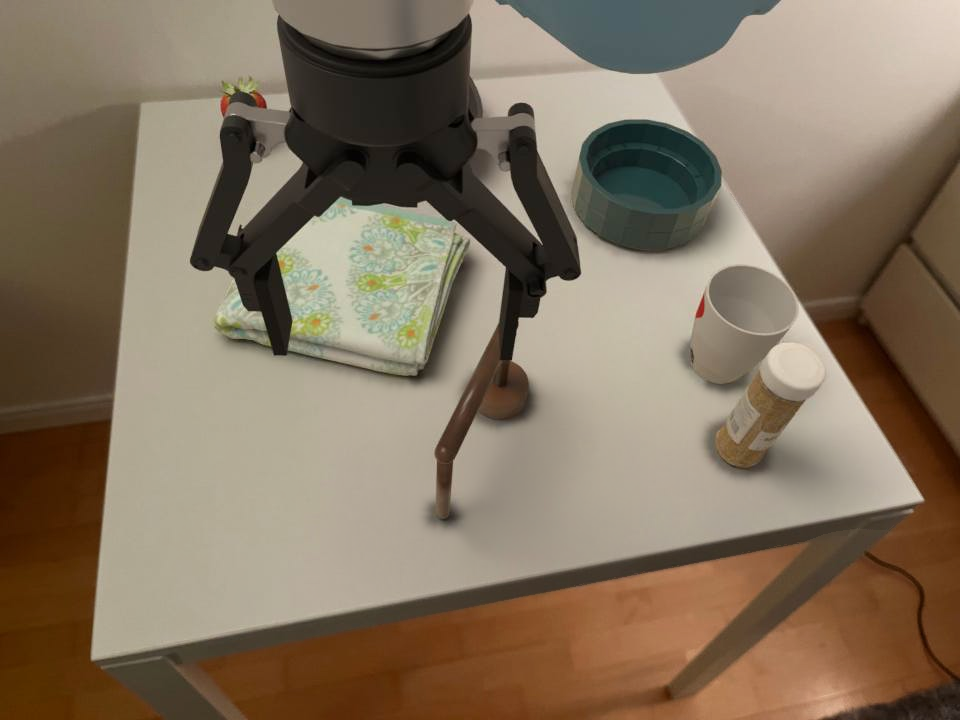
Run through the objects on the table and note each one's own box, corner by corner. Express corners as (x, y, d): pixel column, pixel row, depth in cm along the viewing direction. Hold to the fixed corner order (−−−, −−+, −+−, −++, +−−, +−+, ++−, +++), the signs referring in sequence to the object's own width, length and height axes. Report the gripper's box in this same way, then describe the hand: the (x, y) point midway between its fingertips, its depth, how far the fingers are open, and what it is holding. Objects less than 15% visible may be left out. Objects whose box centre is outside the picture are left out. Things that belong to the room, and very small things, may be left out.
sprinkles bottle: (758, 476, 66) (825, 396, 55) (708, 458, 67) (764, 376, 56) (765, 435, 69) (830, 350, 58) (717, 418, 69) (772, 332, 58)
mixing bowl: (731, 234, 84) (749, 194, 79) (611, 268, 80) (623, 228, 75) (660, 149, 92) (673, 108, 87) (548, 176, 88) (555, 135, 83)
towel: (428, 387, 69) (428, 355, 65) (215, 339, 71) (201, 306, 67) (471, 250, 80) (474, 216, 76) (285, 212, 82) (277, 176, 77)
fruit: (270, 123, 90) (258, 64, 84) (275, 151, 87) (263, 92, 81) (227, 128, 89) (211, 68, 83) (231, 156, 86) (215, 97, 80)
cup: (708, 318, 76) (741, 250, 68) (773, 367, 73) (816, 302, 65) (658, 359, 73) (688, 293, 65) (724, 412, 70) (764, 350, 62)
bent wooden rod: (467, 534, 61) (475, 470, 52) (410, 511, 62) (407, 443, 53) (533, 384, 70) (550, 305, 61) (483, 365, 71) (492, 285, 62)
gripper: (679, -28, 31) (589, 298, 48) (69, -59, 30) (201, 288, 47) (714, 79, 27) (602, 395, 44) (1, 48, 25) (174, 387, 43)
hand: (395, 340), depth 45 cm, fingers open, 13 cm apart
